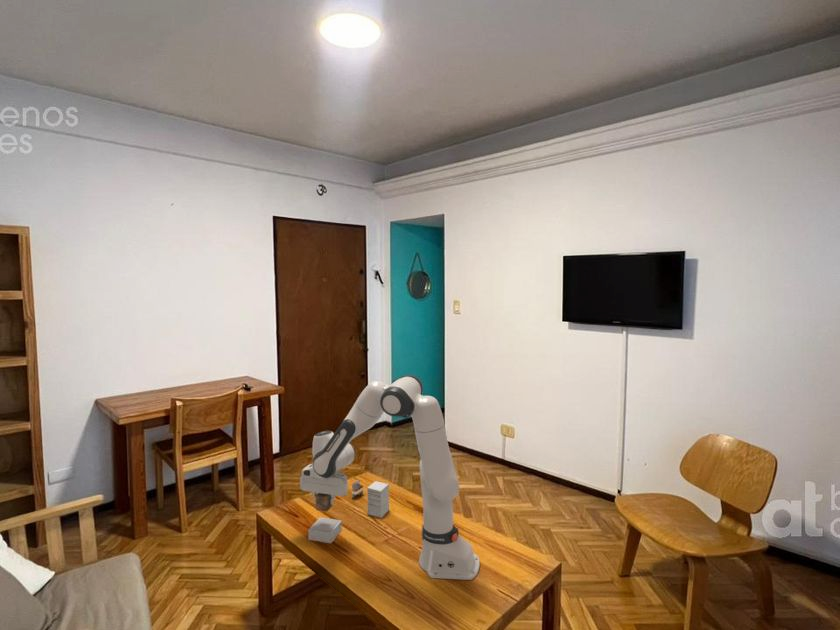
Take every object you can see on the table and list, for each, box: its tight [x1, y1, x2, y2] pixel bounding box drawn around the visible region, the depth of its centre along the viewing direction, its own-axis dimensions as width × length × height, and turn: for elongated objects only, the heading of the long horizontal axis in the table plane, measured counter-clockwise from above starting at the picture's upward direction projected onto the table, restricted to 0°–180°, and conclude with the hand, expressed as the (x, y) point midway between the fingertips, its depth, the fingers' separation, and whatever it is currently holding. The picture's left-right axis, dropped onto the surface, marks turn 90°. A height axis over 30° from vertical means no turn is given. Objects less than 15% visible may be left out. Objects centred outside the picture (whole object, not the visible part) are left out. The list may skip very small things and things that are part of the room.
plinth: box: [307, 517, 343, 544], centre depth 186 cm, size 10×10×4 cm
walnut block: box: [315, 493, 334, 512], centre depth 185 cm, size 5×5×6 cm
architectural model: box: [350, 478, 366, 499], centre depth 217 cm, size 3×7×7 cm, turn 148°
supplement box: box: [366, 480, 390, 519], centre depth 203 cm, size 7×7×13 cm
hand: (324, 502), depth 185 cm, fingers closed on walnut block, 5 cm apart
